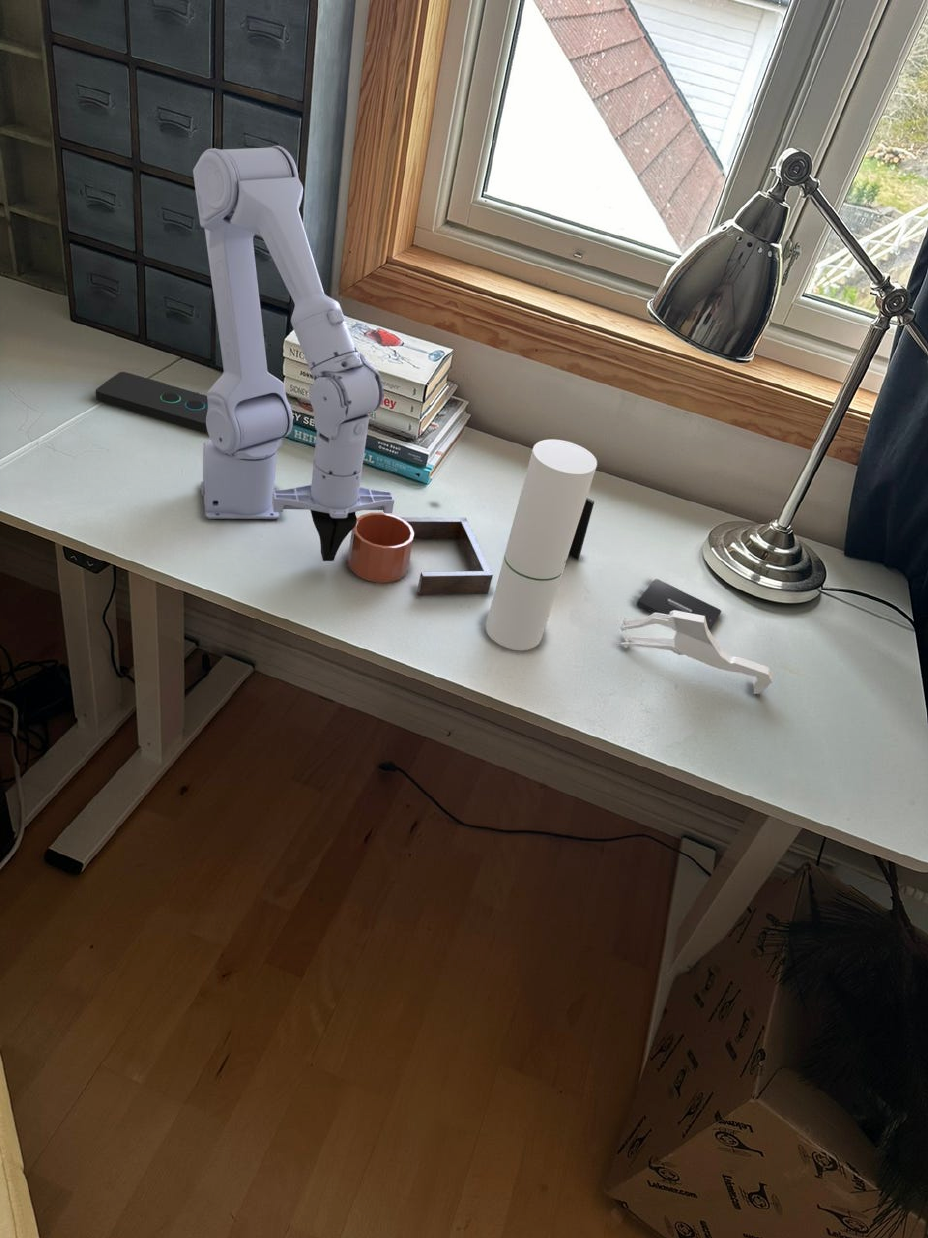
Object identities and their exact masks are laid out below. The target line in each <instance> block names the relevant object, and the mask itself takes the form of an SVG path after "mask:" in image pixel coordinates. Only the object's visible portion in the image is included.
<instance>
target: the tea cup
mask: <svg viewBox="0 0 928 1238" xmlns="http://www.w3.org/2000/svg"><path fill="white" fill-rule="evenodd" d="M356 518H357V522H356V525H355V528H353V529H352V530H351V531H350V539H349V547H348V554H347V565H348V568H349V569H350V570H351V571H352V572H353V574H355V575H356V576H357V577H359V578H360V579H363V580H364V581H365V580H366V581H369V582H373V583H379V584H387V583H388V584H389V583H394V582H396V581H400V580H401V579H402V578H404V576H406V574H407V572H408V569H409V564H410V559H411V554H412V551H413V543H414V540H413V539H414V531H413V529H412V527H411V526H410V525H409V524H408V523H407V522H406V521H405V520H403V519H401V517H399V516H397V515H394V514H392V513H384V512H369V513H365V514H361V515H359V516H358V517H356Z"/></svg>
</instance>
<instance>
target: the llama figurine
mask: <svg viewBox="0 0 928 1238" xmlns="http://www.w3.org/2000/svg"><path fill="white" fill-rule="evenodd" d="M621 623H622V624H621V625H619V628H620V630H621V632H623V631H625V632H627V630H632V629H639V628H643V627H646V626H650V625H656V624H657V625H660V626H663V627H667V628H671V629H672V630H673V631H675V632H674V636H673V638H672V637H671V638H670V637H646V636H645V637H644V636H633V635H623V637H622V638H623V639H624V642H620V645H621V646H622V647H623V648H624V649H628V647H637V648H651V649H658V650H667V651H671V652H672V653H674V654H676V655H678V656H687V657H688V658H691V659H694V660H696V661H698V662H701V663H703V664H705V665H707V666H710V667H713V668H717V669H719V670H722V671H726V672H733V673H739V674H743V675H746V676H751V677H752V686H753V693H752V695H755V694H757V695H758V694H761V692H762V691H763V690H765V689H768V687H769V685H770V684H772V683H773V673H772V671H771V669H770V667H768V666H766V665H762V664H760V663H758V662H755V661H752V660H749V659H746V658H742V657H741V656H737V655H733V656H732V655H731V654H729V653H728V652H727V651H725V650H724V649H722V648H721V646H720V644H719V643H718V641H717V640H716V639H715V637H714V635H713V634H712V633H711V630H709V629H708V626H707V623H706V619H705V616H702V615H697V614H692V613H686V612H681V611H676V610H673V611H671V612H670V615H667V614H661V613H652V614H650V615H648V616H645V617H641V618H640V617H639V618H636V619H628V620H626V618H625V617H624V618H623V619H621ZM630 641H633V642H630ZM634 641H636V642H634ZM640 642H641V643H640ZM642 642H643V643H642ZM644 642H645V643H644Z"/></svg>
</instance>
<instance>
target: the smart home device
mask: <svg viewBox="0 0 928 1238" xmlns="http://www.w3.org/2000/svg"><path fill="white" fill-rule="evenodd" d="M95 399H96V401H98V402H100V403H103V404H106V405H110V406H112V407H117V408H120V409H124V410H126V411H130V412H133V413H136V414H140V415H144V416H148V417H150V418H153V419H158V420H159V421H160V420H161V421H163V422H167V423H171V424H175V425H178V426H181V427H185V428H188V429H191V430H195V431H198V432H202V433H205V434H208V431H207V427H206V416H207V411H208V400H207V394H202V393H199V392H196V391H192V390H188V389H186V388H182V387H178V386H175V385H171V384H168V383H165V382H162V381H158V380H154V379H151V378H148V377H144V376H141V375H137V374H134V373H130V372H126V371H119V372H118V373H116V374H114V375H113V376H112V377H110V378H109V379H108V380H107V381H105V382H104V383H102V384H101V385H99V386H98V387H97V388H95Z"/></svg>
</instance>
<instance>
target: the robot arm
mask: <svg viewBox="0 0 928 1238" xmlns="http://www.w3.org/2000/svg"><path fill="white" fill-rule="evenodd" d="M192 174H193V181H194V188H195V189H194V190H195V197H196V204H197V210H198V219H199V224H200V227H201V228H203V229H204V234H205V235H204V237H205V242H206V250H207V257H208V264H209V271H210V279H211V287H212V294H213V295H212V296H213V301H214V309H215V316H216V317H215V318H216V325H217V331H218V337H219V338H218V340H219V346H220V353H221V361H222V369H223V373H222V374H221V376H220V377H218V379H217V380H216V381H215V382H214V383H213V385H212V386H211V387H210V388H209V389H208V391H207V392H206V396H207V400H208V411H207V416H206V427H207V431H208V433H207V434H208V437H209V439H210V441H205V442H203V448H202V453H203V455H202V481H200V492H201V496H203V504H204V513H205V518H207V519H209V520H211V519H212V520H213V519H214V520H218V519H219V520H224V519H225V520H237V519H238V520H278V519H279V518H280V513H283V512H284V510H308V511H310V514H311V518H312V521H313V525H314V527H315V529H316V532H317V534H318V536H319V545H320V555H321V559H322V561H323V562H335V558H336V556H337V553H338V551H339V549H340V547H341V545H342V543H343V542H344V540H345V539H346V537H347V536H348V535H349V534H350V533H351V531H352V529H353V528H355V525H356V522H357V518H358V517H357V515H356V512H361V511H382V513H387V514H393V510H394V504H395V498H394V496H393V493H392V492H391V491H385V490H384V491H383V490H378V489H377V490H376V489H371V488H366V487H361V481H362V474H363V467H364V466H363V465H364V459H365V458H364V457H365V452H366V451H365V450H366V445H367V444H366V443H367V437H368V429H369V423H370V422H369V421H370V414H372V413H374V412H376V411H377V410H379V409H380V408H381V406H382V404H383V401H384V387H383V382H382V378H381V374H380V373H379V371H378V369H377V368H376V367H375V366H374V365H373V364H372V363H370V362H369V361H368V360H367V358H366V355H364V354H363V353H362V352H359V351H358V348H357V346H356V343H355V341H354V338H353V336H352V333H351V330H350V327H349V325H348V323H347V320H346V317H345V315H344V312H343V309H342V306H341V305H340V303H339V301H337V300H335V299H334V298H332V297H330V296H328V295H327V294H325V291H324V288H323V285H322V281H321V277H320V275H319V271H318V269H317V265H316V262H315V258H314V256H313V252H312V249H311V246H310V243H309V239H308V236H307V233H306V229H305V227H304V223H303V220H302V216H301V213H300V207H301V204H302V200H303V195H304V194H303V193H304V187H303V184H302V182H301V180H300V178H299V172H298V168H297V165H296V163H295V160H294V158H293V156H292V155H291V154H290V152H289V151H288V150H287V149H286V148H284V147H283V146H280V145H272V146H269V147H254V148H253V147H251V148H230V149H229V148H228V149H219V148H215V147H214V148H208V149H206V150H204V151H203V153H202V154H201V155H200V157H199V159H198V161H197V162H196V164H195V166H194V167H193V169H192ZM255 235H257V236H259V237H261V238H262V240H263V241H264V244H265V246H266V248H267V250H268V253H269V255H270V256H271V258H272V260H273V262H274V265H275V266H276V268H277V271H278V273H279V274H280V277H281V279H282V280H283V281H282V282H283V283H284V285H285V287H286V290H287V291H288V294H289V295H290V297H291V299H292V301H293V303H294V307H293V310H292V314H291V316H290V323H291V326H292V329H293V331H294V333H295V336H296V339H297V341H298V343H299V346H300V348H301V351H302V353H303V354H302V355H303V356H304V359H305V361H306V364H307V367H308V369H309V372H310V374H311V376H312V379H313V383H312V385H311V386H309V387H308V397H309V402H310V405H311V407H312V410H313V424H314V429H315V430H316V436H315V446H314V457H313V463H312V465H313V466H312V476H311V483H310V484H306V485H302V486H296V487H291V488H286V489H275V486H276V485H275V484H276V469H277V467H276V466H277V456H278V449H279V448H280V447H282V446H283V438H287V437H288V436H289V435H290V434H291V432H292V430H293V427H294V426H293V424H294V416H293V410H292V407H291V405H290V403H289V401H288V397H287V393H286V385H285V383H284V382H283V381H281V380H280V379H279V378H277V377H276V376H275V375H273V374H271V373H269V371H268V364H267V355H266V354H267V353H266V345H265V337H264V336H265V335H264V328H263V321H262V320H263V319H262V309H261V300H260V293H259V292H260V290H259V282H258V273H257V267H256V265H257V264H256V256H255V247H254V246H255V245H254V237H255Z"/></svg>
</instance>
